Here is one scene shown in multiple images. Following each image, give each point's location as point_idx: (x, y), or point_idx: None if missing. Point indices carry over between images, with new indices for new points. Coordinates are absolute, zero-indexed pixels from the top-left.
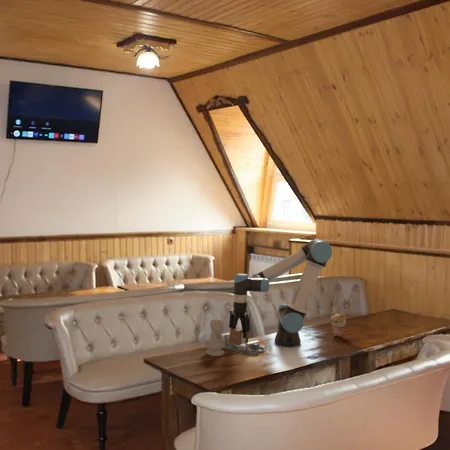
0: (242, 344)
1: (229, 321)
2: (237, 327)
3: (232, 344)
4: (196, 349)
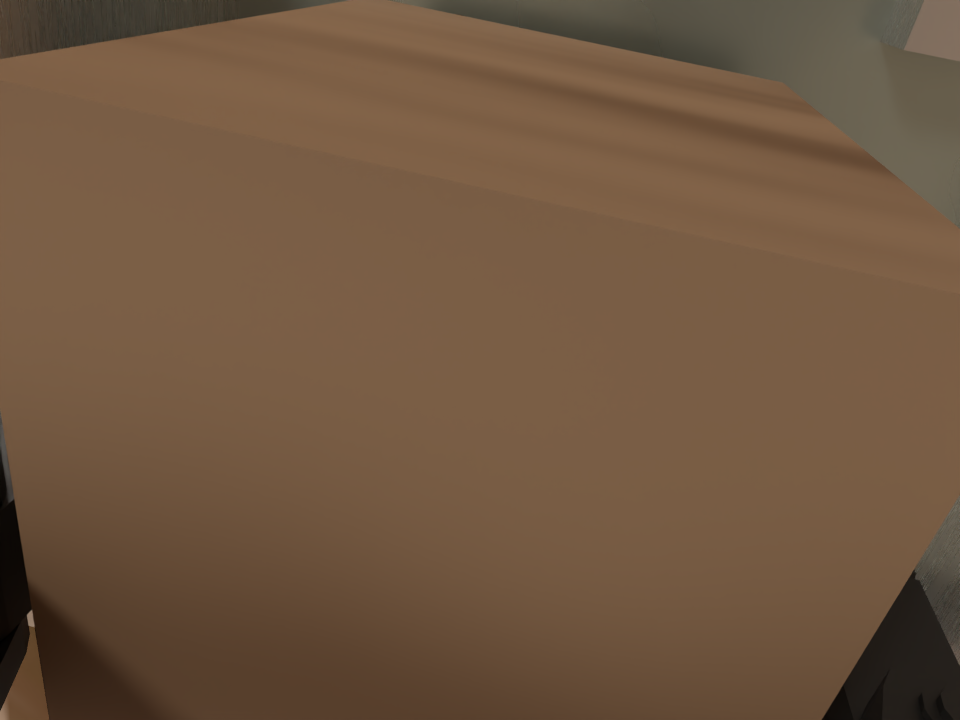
0: (517, 18)
1: None
2: (37, 487)
3: None
4: (24, 693)
